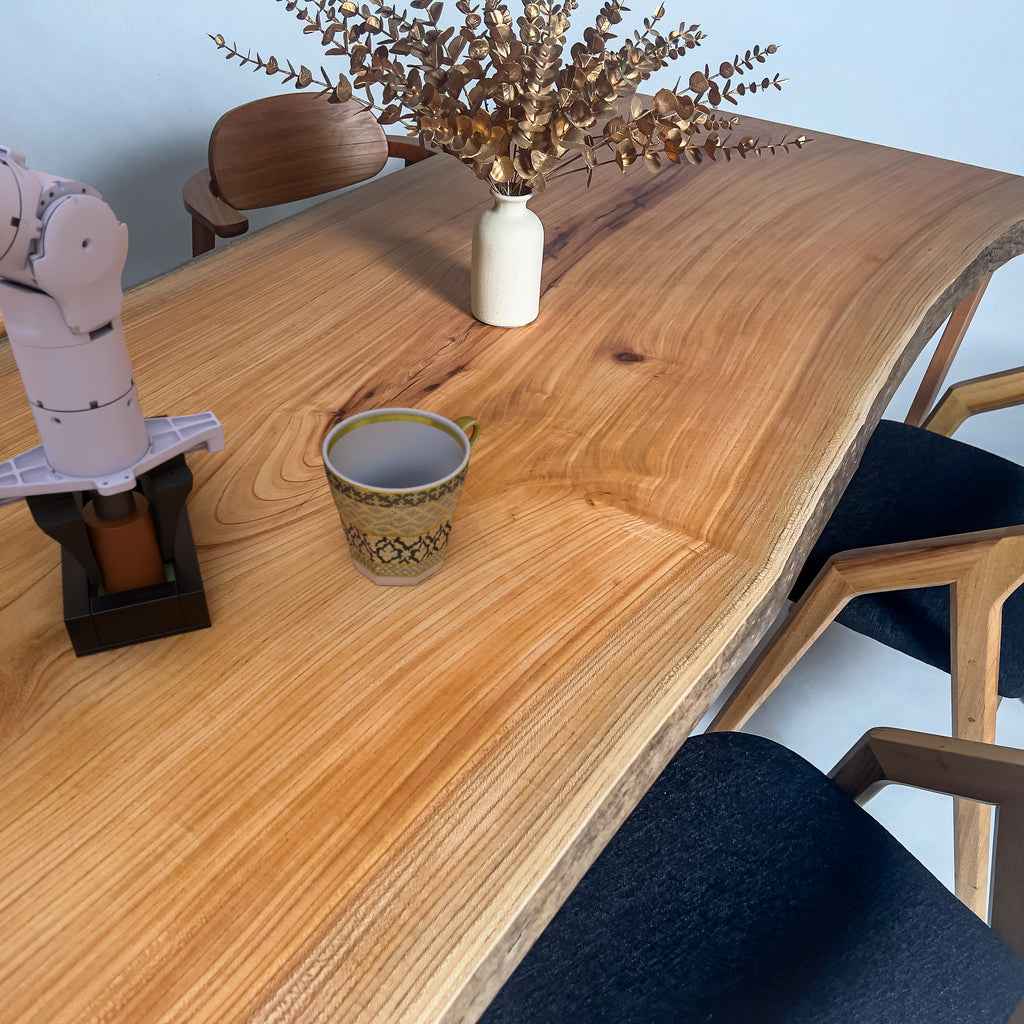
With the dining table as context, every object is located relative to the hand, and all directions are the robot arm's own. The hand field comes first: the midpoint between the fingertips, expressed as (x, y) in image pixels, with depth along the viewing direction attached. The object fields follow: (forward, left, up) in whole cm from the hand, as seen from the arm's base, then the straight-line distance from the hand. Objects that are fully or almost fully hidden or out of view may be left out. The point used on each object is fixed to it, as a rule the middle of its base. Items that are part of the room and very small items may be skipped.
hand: (130, 563), depth 60 cm
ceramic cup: (+19, +2, -4) cm, 20 cm away
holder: (-1, +7, -3) cm, 8 cm away
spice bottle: (0, 0, -2) cm, 2 cm away
